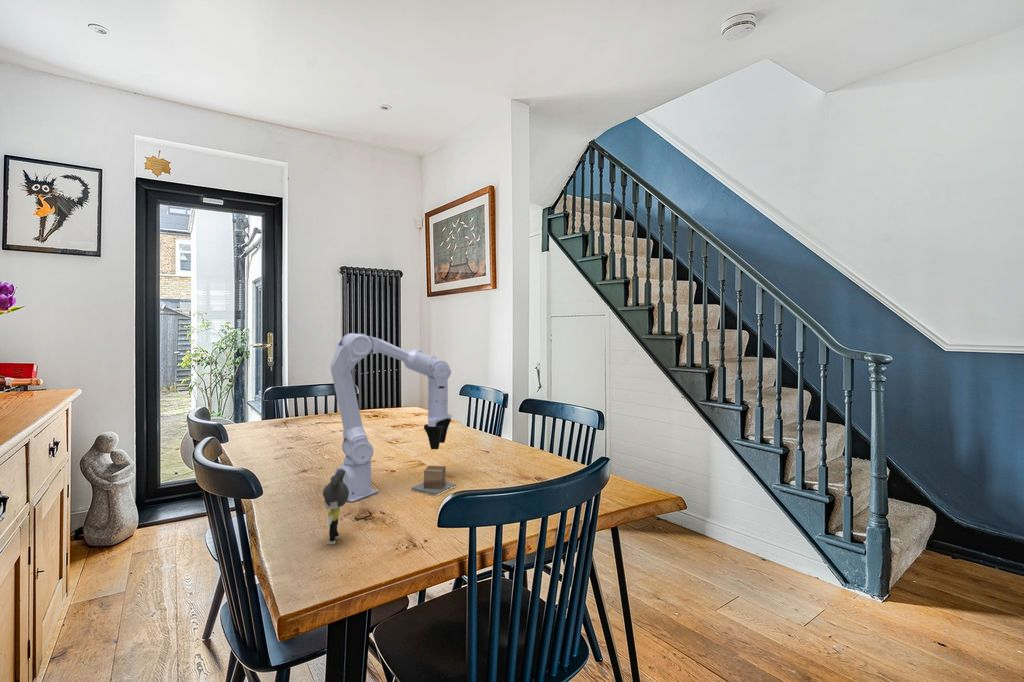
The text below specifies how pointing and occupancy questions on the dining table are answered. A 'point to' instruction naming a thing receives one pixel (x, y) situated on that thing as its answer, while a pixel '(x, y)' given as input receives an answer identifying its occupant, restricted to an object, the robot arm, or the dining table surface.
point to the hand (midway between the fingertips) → (437, 445)
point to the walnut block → (434, 477)
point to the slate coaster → (432, 491)
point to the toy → (335, 502)
